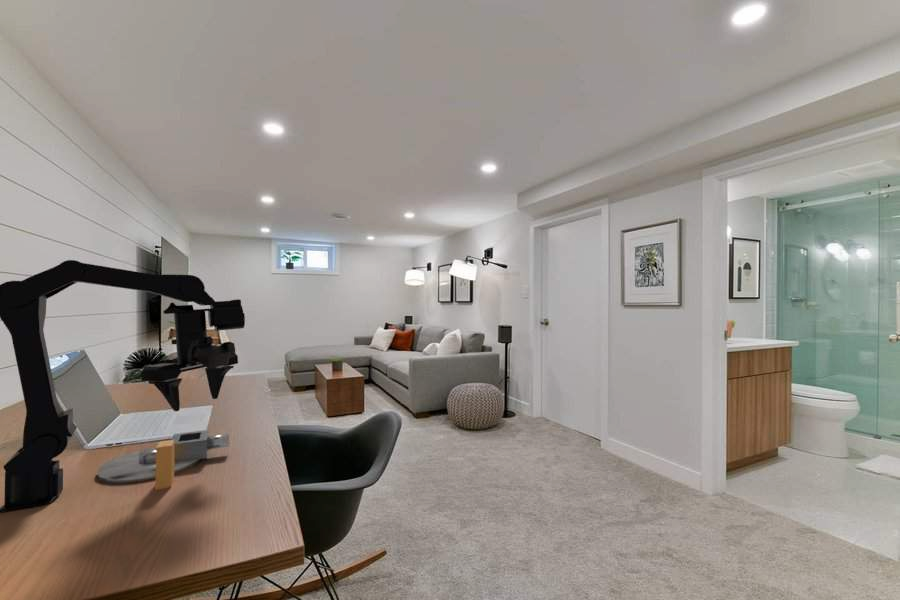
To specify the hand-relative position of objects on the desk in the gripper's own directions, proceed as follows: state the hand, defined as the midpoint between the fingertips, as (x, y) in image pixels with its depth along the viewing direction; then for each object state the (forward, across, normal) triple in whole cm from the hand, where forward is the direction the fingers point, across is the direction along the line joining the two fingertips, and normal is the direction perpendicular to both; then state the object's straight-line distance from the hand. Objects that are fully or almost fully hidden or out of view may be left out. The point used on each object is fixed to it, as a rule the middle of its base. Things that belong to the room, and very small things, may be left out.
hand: (196, 404), depth 88 cm
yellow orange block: (+13, -9, -1) cm, 16 cm away
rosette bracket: (+13, -1, +9) cm, 16 cm away
